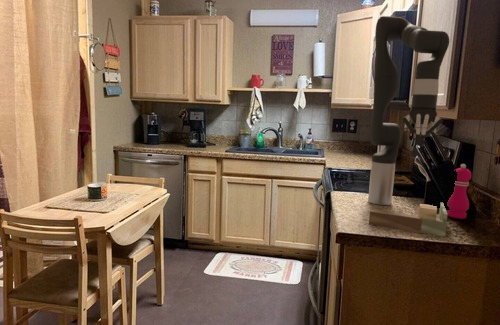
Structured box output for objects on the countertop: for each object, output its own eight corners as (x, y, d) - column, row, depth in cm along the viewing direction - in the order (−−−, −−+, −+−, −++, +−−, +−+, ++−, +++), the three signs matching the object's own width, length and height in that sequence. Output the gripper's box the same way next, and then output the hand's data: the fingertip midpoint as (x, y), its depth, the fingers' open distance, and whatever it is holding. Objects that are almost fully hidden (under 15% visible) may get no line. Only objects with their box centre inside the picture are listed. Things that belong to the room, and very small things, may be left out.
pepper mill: (443, 215, 138) (449, 163, 135) (449, 212, 143) (455, 161, 140) (464, 220, 133) (471, 166, 130) (470, 216, 138) (477, 164, 135)
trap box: (373, 211, 139) (375, 193, 138) (441, 221, 130) (443, 202, 129) (368, 224, 124) (370, 204, 123) (445, 236, 115) (447, 215, 114)
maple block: (418, 217, 125) (419, 203, 124) (434, 220, 123) (436, 206, 122) (418, 222, 120) (420, 207, 120) (435, 224, 118) (437, 209, 118)
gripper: (446, 94, 122) (440, 146, 124) (403, 93, 127) (398, 143, 130) (448, 93, 115) (442, 148, 118) (403, 92, 120) (397, 145, 123)
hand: (419, 145), depth 124 cm, fingers closed
